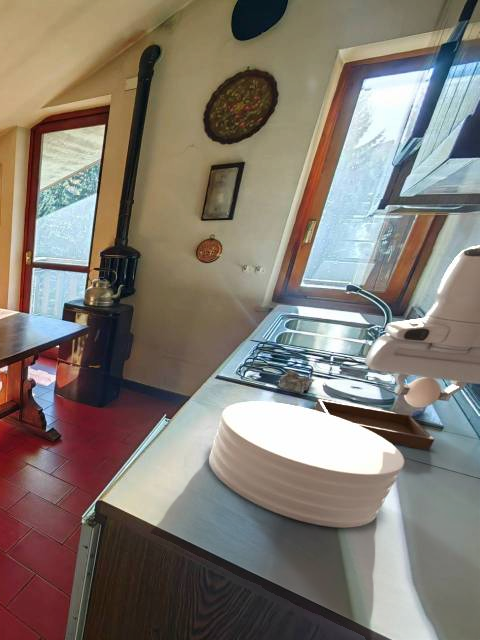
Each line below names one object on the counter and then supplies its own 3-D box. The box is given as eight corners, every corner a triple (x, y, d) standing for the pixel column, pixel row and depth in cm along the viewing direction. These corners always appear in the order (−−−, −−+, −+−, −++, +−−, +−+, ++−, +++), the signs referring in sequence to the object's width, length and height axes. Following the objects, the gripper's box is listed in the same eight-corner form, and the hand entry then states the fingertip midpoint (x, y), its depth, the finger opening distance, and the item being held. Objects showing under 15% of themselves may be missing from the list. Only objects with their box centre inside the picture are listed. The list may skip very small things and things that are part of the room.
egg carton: (287, 379, 133) (291, 368, 132) (314, 387, 127) (319, 375, 126) (273, 386, 128) (277, 374, 126) (301, 394, 122) (305, 382, 120)
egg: (409, 400, 85) (423, 372, 82) (438, 410, 81) (454, 380, 78) (392, 402, 84) (406, 374, 81) (421, 412, 80) (436, 382, 77)
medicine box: (410, 418, 108) (425, 389, 104) (389, 411, 112) (403, 383, 108) (424, 413, 111) (438, 385, 107) (403, 406, 115) (416, 379, 111)
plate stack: (180, 457, 89) (192, 413, 85) (261, 435, 99) (276, 394, 94) (320, 545, 65) (346, 490, 61) (409, 504, 75) (438, 454, 70)
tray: (405, 425, 104) (410, 415, 103) (428, 450, 93) (434, 439, 92) (314, 408, 113) (318, 399, 112) (325, 429, 102) (329, 419, 100)
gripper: (522, 335, 74) (484, 401, 79) (377, 322, 83) (352, 382, 89) (545, 344, 69) (503, 413, 74) (388, 329, 78) (360, 392, 83)
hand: (419, 396), depth 81 cm, fingers closed on egg, 5 cm apart
